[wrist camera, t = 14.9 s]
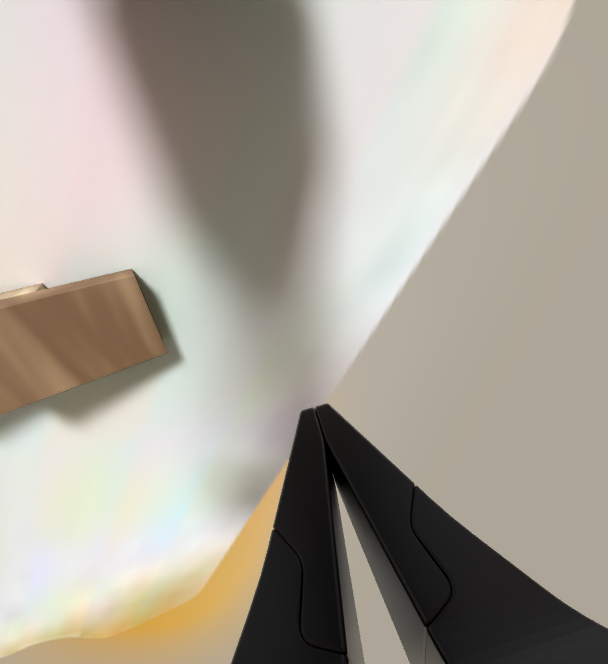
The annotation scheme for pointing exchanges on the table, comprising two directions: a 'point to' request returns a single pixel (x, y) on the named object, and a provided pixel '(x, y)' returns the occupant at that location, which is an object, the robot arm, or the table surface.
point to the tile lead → (72, 336)
